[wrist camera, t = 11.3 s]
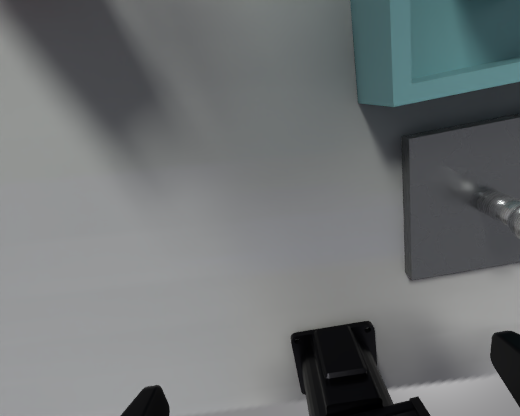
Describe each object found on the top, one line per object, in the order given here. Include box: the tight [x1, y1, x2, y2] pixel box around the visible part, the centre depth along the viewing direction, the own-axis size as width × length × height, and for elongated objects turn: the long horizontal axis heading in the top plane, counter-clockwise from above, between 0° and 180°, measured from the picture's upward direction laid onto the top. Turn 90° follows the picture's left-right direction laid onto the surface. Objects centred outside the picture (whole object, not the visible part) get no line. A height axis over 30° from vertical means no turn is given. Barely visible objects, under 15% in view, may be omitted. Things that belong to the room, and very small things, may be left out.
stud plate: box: [402, 114, 520, 280], centre depth 18 cm, size 10×10×5 cm
